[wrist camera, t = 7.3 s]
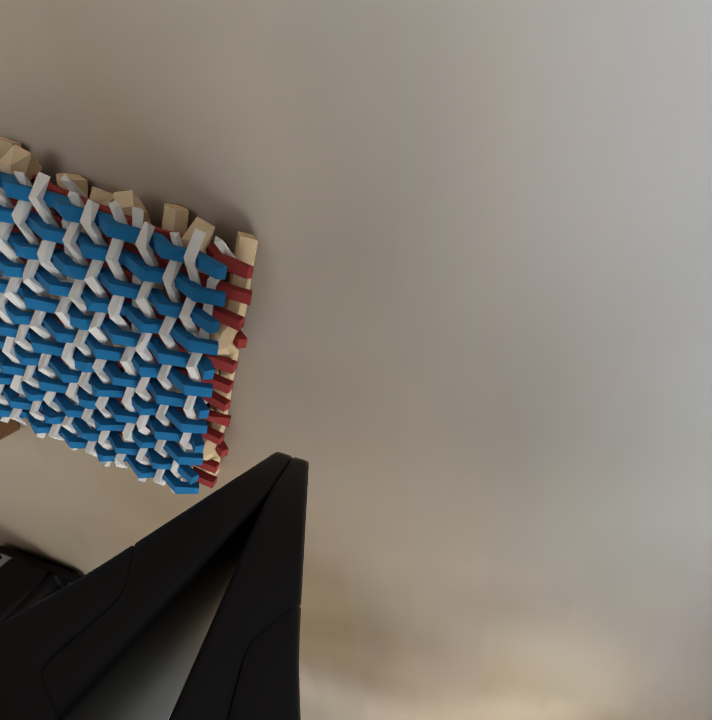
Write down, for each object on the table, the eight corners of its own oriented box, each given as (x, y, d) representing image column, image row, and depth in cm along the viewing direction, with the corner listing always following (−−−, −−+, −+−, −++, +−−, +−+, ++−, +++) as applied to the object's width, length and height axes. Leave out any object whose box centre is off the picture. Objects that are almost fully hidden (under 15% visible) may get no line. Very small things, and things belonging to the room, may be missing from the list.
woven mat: (230, 478, 15) (202, 517, 13) (14, 385, 15) (-43, 411, 13) (279, 240, 10) (244, 249, 8) (-46, 112, 10) (-150, 94, 8)
